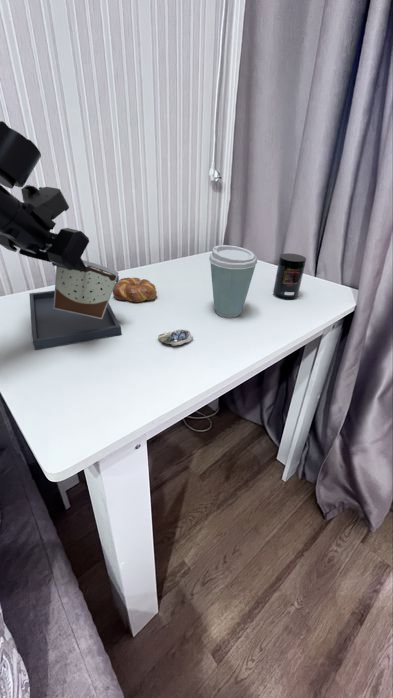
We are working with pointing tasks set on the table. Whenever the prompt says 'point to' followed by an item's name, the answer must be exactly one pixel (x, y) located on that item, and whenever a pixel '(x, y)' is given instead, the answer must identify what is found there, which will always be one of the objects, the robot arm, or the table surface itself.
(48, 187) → the robot arm
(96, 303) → the food container
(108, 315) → the tray
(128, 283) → the pretzel
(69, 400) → the table surface
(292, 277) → the supplement container
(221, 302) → the disposable coffee cup
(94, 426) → the table surface
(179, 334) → the crystal geode
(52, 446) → the table surface
